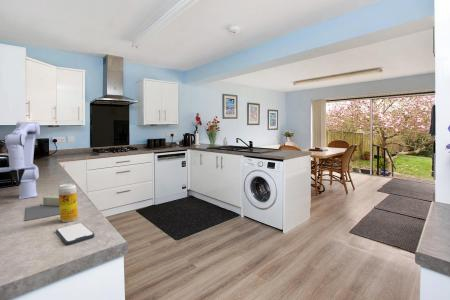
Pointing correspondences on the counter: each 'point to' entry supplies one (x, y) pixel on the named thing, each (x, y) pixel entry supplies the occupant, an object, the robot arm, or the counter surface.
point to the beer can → (68, 202)
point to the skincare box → (51, 200)
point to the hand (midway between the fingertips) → (18, 184)
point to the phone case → (74, 233)
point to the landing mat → (41, 212)
